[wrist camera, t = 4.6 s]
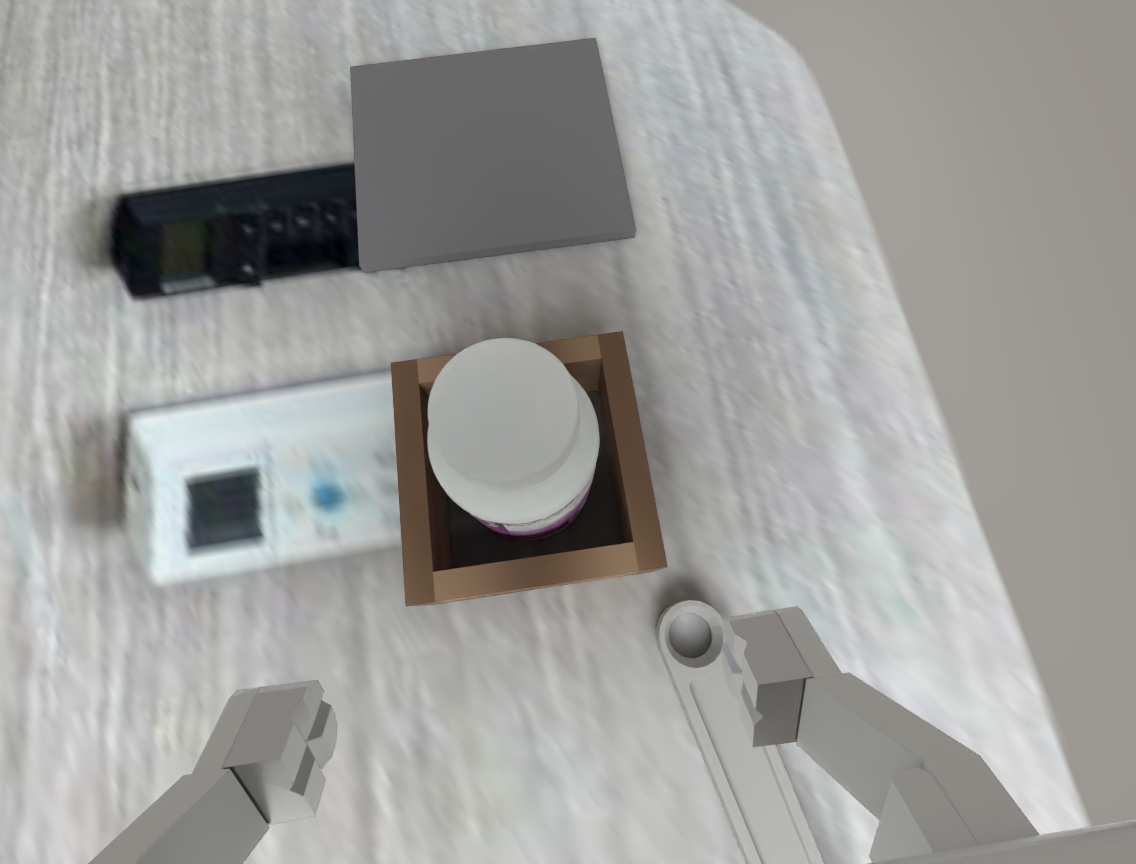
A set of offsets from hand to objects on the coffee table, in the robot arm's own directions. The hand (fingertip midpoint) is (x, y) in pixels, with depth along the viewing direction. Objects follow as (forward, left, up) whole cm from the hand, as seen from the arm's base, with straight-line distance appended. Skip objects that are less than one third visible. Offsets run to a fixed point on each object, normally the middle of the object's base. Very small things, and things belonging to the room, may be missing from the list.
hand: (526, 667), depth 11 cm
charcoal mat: (0, +23, -11) cm, 26 cm away
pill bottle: (0, +6, -11) cm, 13 cm away
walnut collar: (0, +6, -11) cm, 13 cm away
